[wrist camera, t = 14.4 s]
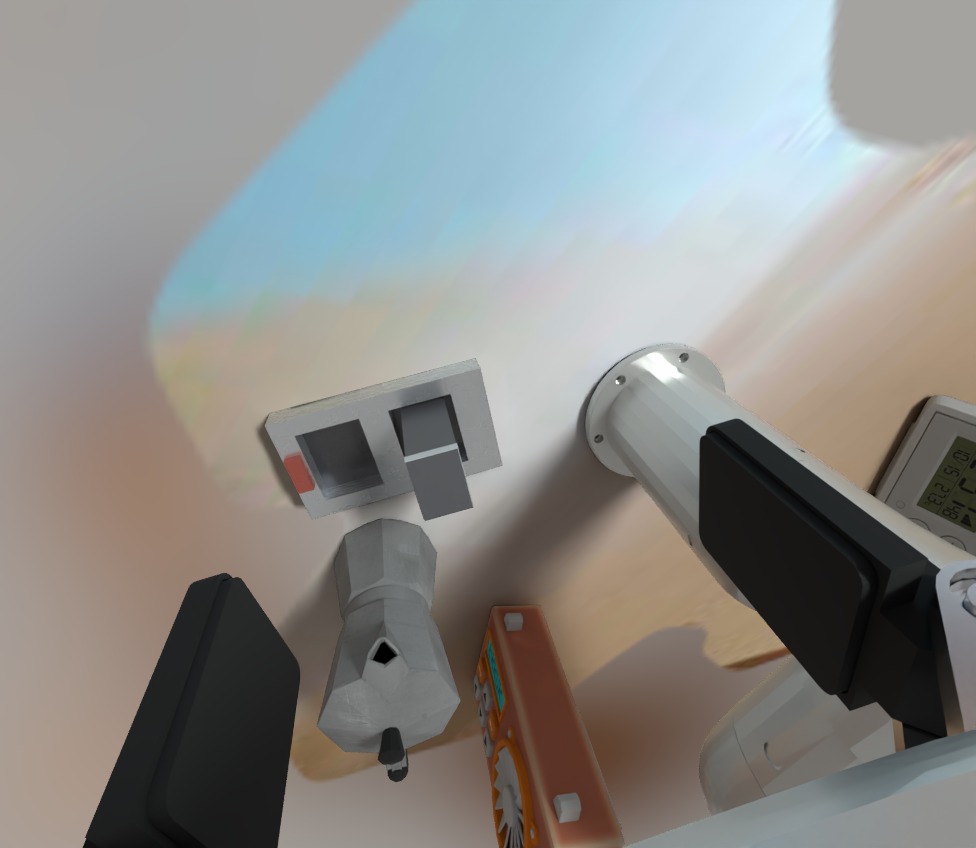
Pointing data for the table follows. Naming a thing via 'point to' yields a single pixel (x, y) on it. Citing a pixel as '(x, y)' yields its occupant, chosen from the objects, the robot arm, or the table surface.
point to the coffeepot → (387, 647)
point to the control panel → (537, 741)
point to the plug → (434, 459)
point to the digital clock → (937, 472)
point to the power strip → (377, 437)
